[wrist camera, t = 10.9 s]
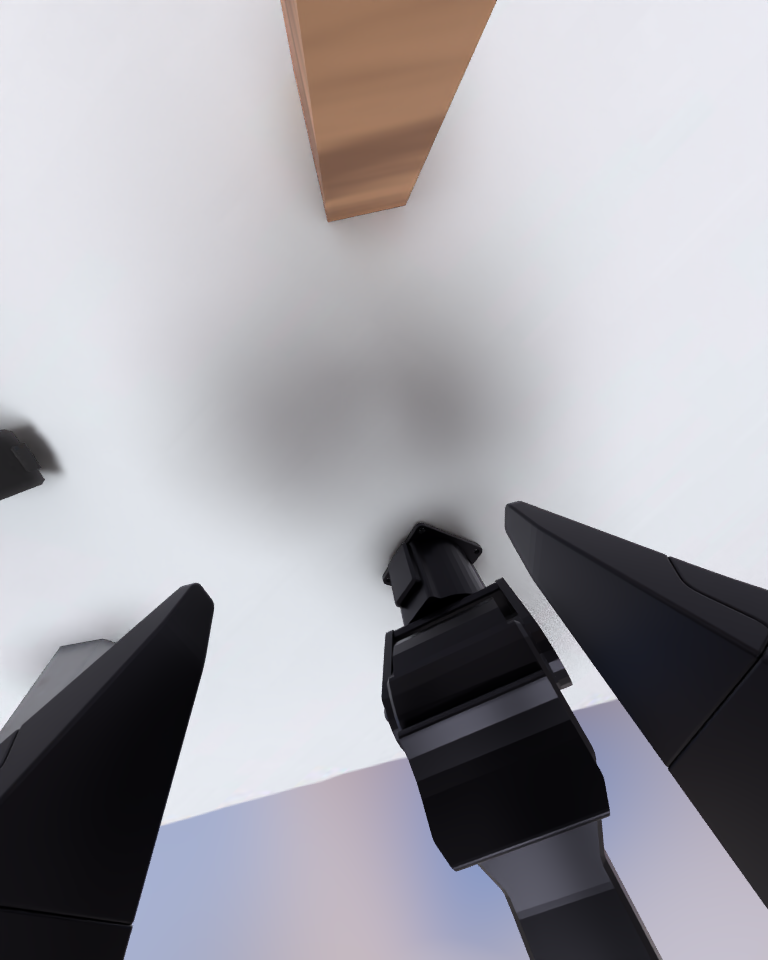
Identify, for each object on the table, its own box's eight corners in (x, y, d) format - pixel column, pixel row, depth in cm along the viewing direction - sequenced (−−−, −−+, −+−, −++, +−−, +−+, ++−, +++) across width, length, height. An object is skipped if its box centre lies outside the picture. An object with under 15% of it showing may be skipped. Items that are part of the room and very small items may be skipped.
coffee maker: (133, 719, 29) (-124, 1181, 13) (28, 697, 26) (-481, 1270, 10) (199, 631, 25) (-58, 1143, 9) (83, 592, 22) (-619, 1270, 6)
